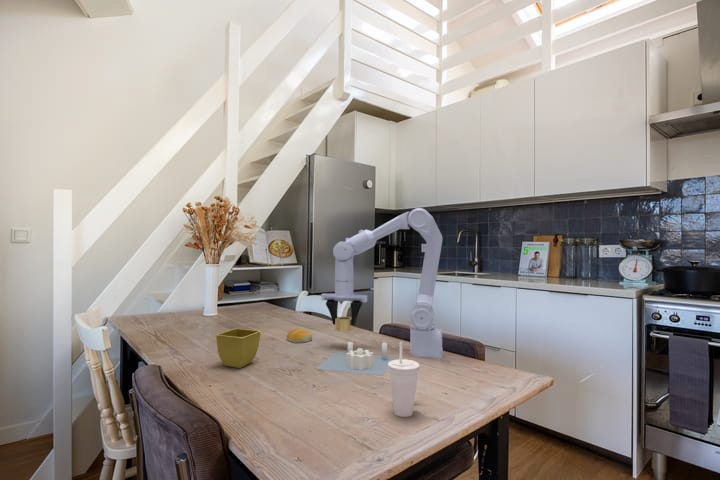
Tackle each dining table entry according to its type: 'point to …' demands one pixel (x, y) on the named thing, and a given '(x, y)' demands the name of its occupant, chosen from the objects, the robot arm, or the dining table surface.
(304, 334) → the bread roll
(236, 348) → the flower pot
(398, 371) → the smoothie
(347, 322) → the brass gear
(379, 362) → the gear board
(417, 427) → the dining table surface
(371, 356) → the gear
